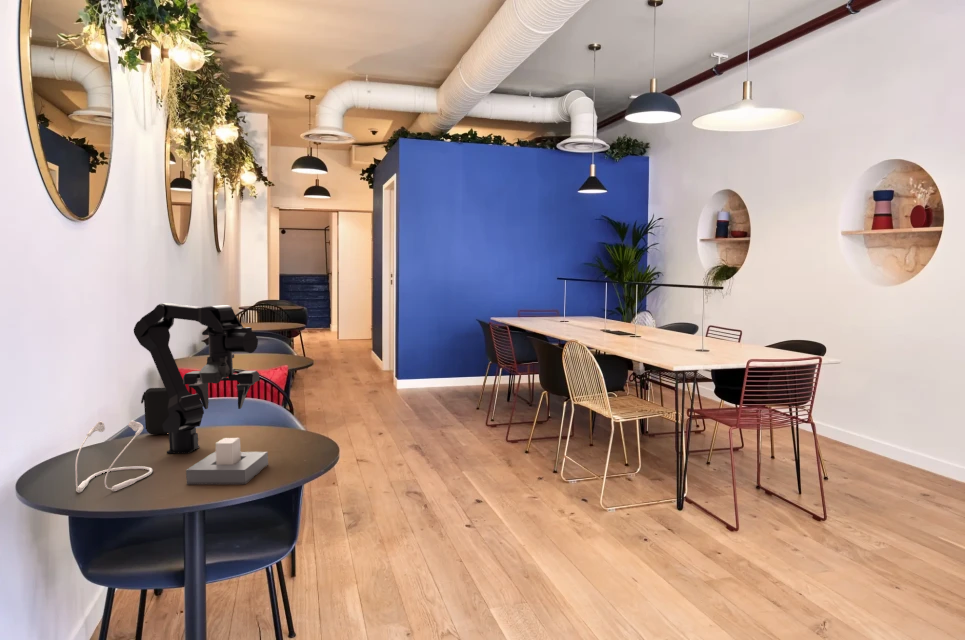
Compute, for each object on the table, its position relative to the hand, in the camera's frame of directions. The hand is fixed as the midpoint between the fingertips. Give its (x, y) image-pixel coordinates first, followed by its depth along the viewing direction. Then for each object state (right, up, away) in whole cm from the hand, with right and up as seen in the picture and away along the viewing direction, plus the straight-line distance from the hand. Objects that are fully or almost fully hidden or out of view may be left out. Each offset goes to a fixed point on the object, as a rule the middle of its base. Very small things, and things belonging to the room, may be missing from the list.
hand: (223, 408), depth 173 cm
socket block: (+8, -14, -15) cm, 22 cm away
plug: (+8, -14, -15) cm, 22 cm away
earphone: (-18, -15, -19) cm, 31 cm away
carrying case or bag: (-29, -12, +25) cm, 40 cm away
